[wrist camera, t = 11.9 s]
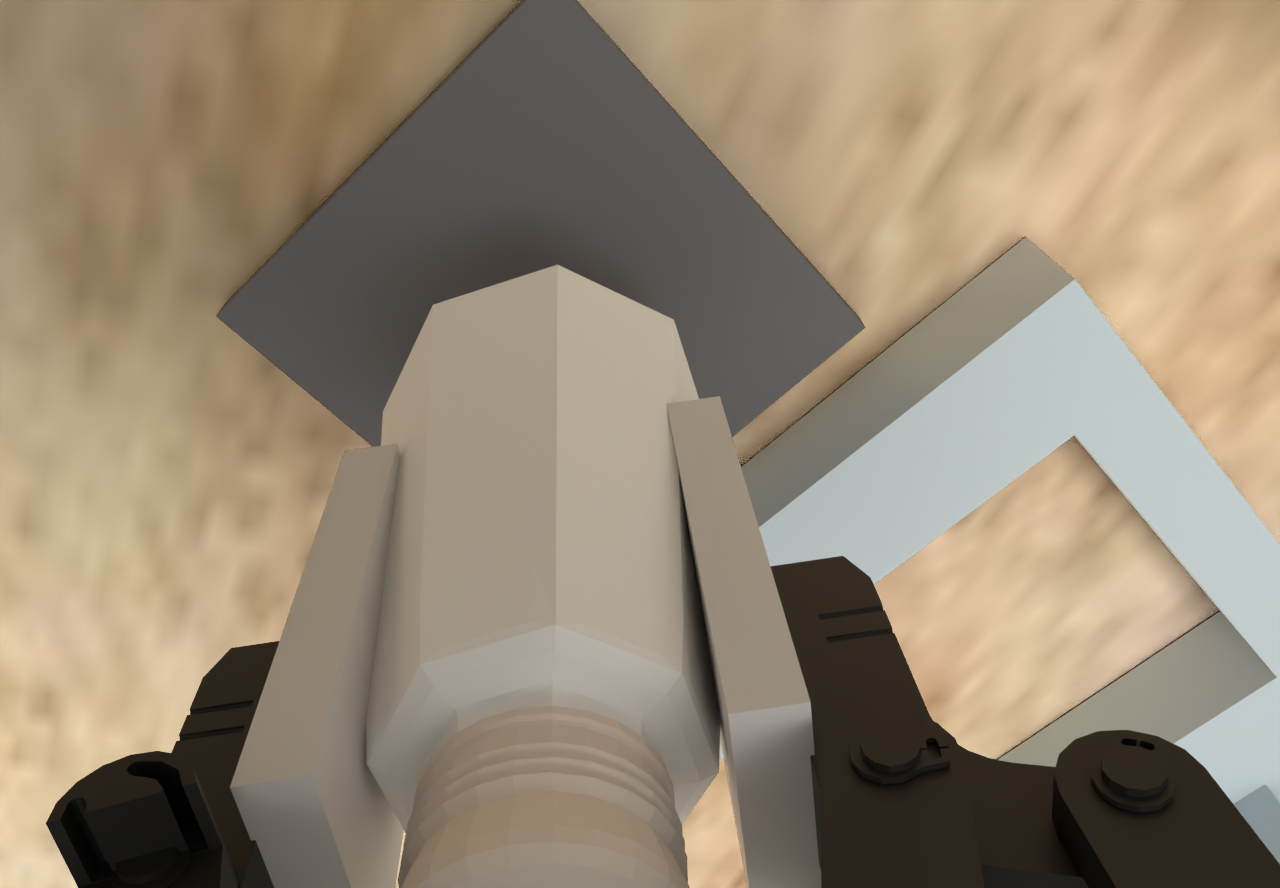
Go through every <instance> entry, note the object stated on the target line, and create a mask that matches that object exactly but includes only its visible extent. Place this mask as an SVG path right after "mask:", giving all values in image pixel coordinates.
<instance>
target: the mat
mask: <svg viewBox="0 0 1280 888" xmlns="http://www.w3.org/2000/svg"><path fill="white" fill-rule="evenodd" d="M555 265H559V266H562V267H564V268H566V269H568V270H570V271H572V272H574V273H576V274H579V275H581V276H583V277H585V278H587V279H589V280H591V281H593V282H595V283H598V284H600V285H602V286H604V287H606V288H608V289H610V290H612V291H614V292H617V293H619V294H621V295H623V296H625V297H627V298H629V299H631V300H633V301H636V302H638V303H640V304H642V305H644V306H646V307H648V308H650V309H653V310H655V311H657V312H659V313H661V314H663V315H665V316H667V317H669V318H672V319H674V322H675V325H676V328H677V331H678V334H679V337H680V341H681V344H682V347H683V350H684V353H685V356H686V359H687V363H688V366H689V369H690V372H691V375H692V378H693V381H694V384H695V388H696V391H697V394H698V397H699V399H703V398H710V397H717V396H720V398H721V402H722V405H723V409H724V412H725V415H726V419H727V422H728V425H729V429H730V432H731V435H732V437H733V436H734V435H735V434H736V433H737V432H739V431H740V430H741V429H742V428H743V427H745V426H746V425H747V424H748V423H750V422H751V421H752V420H753V419H754V418H756V417H757V416H758V415H759V414H761V413H762V412H763V411H764V410H765V409H767V408H768V407H769V406H770V405H772V404H773V403H774V402H775V401H776V400H778V399H779V398H780V397H781V396H782V395H784V394H785V393H786V392H787V391H789V390H790V389H791V388H792V387H793V386H795V385H796V384H797V383H798V382H800V381H801V380H802V379H803V378H804V377H806V376H807V375H808V374H809V373H811V372H812V371H813V370H814V369H815V368H817V367H818V366H819V365H820V364H821V363H823V362H824V361H825V360H826V359H828V358H829V357H830V356H831V355H832V354H834V353H835V352H836V351H837V350H839V349H840V348H841V347H842V346H843V345H845V344H846V343H847V342H848V341H850V340H851V339H852V338H853V337H854V336H856V335H857V334H858V333H859V332H860V331H862V330H863V329H864V328H865V326H864V324H863V323H862V321H861V320H860V318H859V317H858V315H857V314H856V313H855V312H854V311H853V310H852V309H851V308H850V306H849V305H848V304H847V303H846V302H845V301H844V300H843V299H842V297H841V296H840V295H839V294H838V293H837V292H836V291H835V290H834V288H833V287H832V286H831V285H830V284H829V283H828V282H827V281H826V279H825V278H824V277H823V276H822V275H821V274H820V273H819V272H818V271H817V269H816V268H815V267H814V266H813V265H812V264H811V263H810V262H809V260H808V259H807V258H806V257H805V256H804V255H803V254H802V253H801V251H800V250H799V249H798V248H797V247H796V246H795V245H794V244H793V242H792V241H791V240H790V239H789V238H788V237H787V236H786V235H785V233H784V232H783V231H782V230H781V229H780V228H779V227H778V226H777V225H776V223H775V222H774V221H773V220H772V219H771V218H770V217H769V216H768V214H767V213H766V212H765V211H764V210H763V209H762V208H761V207H760V205H759V204H758V203H757V202H756V201H755V200H754V199H753V198H752V196H751V195H750V194H749V193H748V192H747V191H746V190H745V189H744V187H743V186H742V185H741V184H740V183H739V182H738V181H737V180H736V179H735V177H734V176H733V175H732V174H731V173H730V172H729V171H728V170H727V168H726V167H725V166H724V165H723V164H722V163H721V162H720V161H719V159H718V158H717V157H716V156H715V155H714V154H713V153H712V152H711V150H710V149H709V148H708V147H707V146H706V145H705V144H704V143H703V142H702V140H701V139H700V138H699V137H698V136H697V135H696V134H695V133H694V131H693V130H692V129H691V128H690V127H689V126H688V125H687V124H686V122H685V121H684V120H683V119H682V118H681V117H680V116H679V115H678V113H677V112H676V111H675V110H674V109H673V108H672V107H671V106H670V104H669V103H668V102H667V101H666V100H665V99H664V98H663V97H662V96H661V94H660V93H659V92H658V91H657V90H656V89H655V88H654V87H653V85H652V84H651V83H650V82H649V81H648V80H647V79H646V78H645V76H644V75H643V74H642V73H641V72H640V71H639V70H638V69H637V67H636V66H635V65H634V64H633V63H632V62H631V61H630V60H629V58H628V57H627V56H626V55H625V54H624V53H623V52H622V51H621V50H620V48H619V47H618V46H617V45H616V44H615V43H614V42H613V41H612V39H611V38H610V37H609V36H608V35H607V34H606V33H605V32H604V30H603V29H602V28H601V27H600V26H599V25H598V24H597V23H596V21H595V20H594V19H593V18H592V17H591V16H590V15H589V14H588V12H587V11H586V10H585V9H584V8H583V7H582V6H581V5H580V4H579V2H578V1H577V0H523V1H522V2H521V3H520V4H519V5H518V6H517V7H516V8H515V9H514V10H513V11H512V12H511V13H510V14H509V15H508V16H507V17H506V18H505V19H504V20H503V21H502V22H501V23H500V24H499V25H498V26H497V27H496V28H495V29H494V30H493V31H492V32H491V33H490V34H489V35H488V36H487V37H486V38H485V40H484V41H483V42H482V43H481V44H480V45H479V46H478V47H477V48H476V49H475V50H474V51H473V52H472V53H471V54H470V55H469V56H468V57H467V58H466V59H465V60H464V61H463V62H462V63H461V64H460V65H459V66H458V67H457V68H456V69H455V70H454V71H453V72H452V73H451V74H450V75H449V76H448V77H447V78H446V79H445V80H444V81H443V82H442V83H441V84H440V85H439V86H438V87H437V88H436V89H435V90H434V91H433V92H432V94H431V95H430V96H429V97H428V98H427V99H426V100H425V101H424V102H423V103H422V104H421V105H420V106H419V107H418V108H417V109H416V110H415V111H414V112H413V113H412V114H411V115H410V116H409V117H408V118H407V119H406V120H405V121H404V122H403V123H402V124H401V125H400V126H399V127H398V128H397V129H396V130H395V131H394V132H393V133H392V134H391V135H390V136H389V137H388V138H387V139H386V140H385V141H384V142H383V143H382V144H381V145H380V147H379V148H378V149H377V150H376V151H375V152H374V153H373V154H372V155H371V156H370V157H369V158H368V159H367V160H366V161H365V162H364V163H363V164H362V165H361V166H360V167H359V168H358V169H357V170H356V171H355V172H354V173H353V174H352V175H351V176H350V177H349V178H348V179H347V180H346V181H345V182H344V183H343V184H342V185H341V186H340V187H339V188H338V189H337V190H336V191H335V192H334V193H333V194H332V195H331V196H330V197H329V198H328V200H327V201H326V202H325V203H324V204H323V205H322V206H321V207H320V208H319V209H318V210H317V211H316V212H315V213H314V214H313V215H312V216H311V217H310V218H309V219H308V220H307V221H306V222H305V223H304V224H303V225H302V226H301V227H300V228H299V229H298V230H297V231H296V232H295V233H294V234H293V235H292V236H291V237H290V238H289V239H288V240H287V241H286V242H285V243H284V244H283V245H282V246H281V247H280V248H279V249H278V250H277V251H276V252H275V254H274V255H273V256H272V257H271V258H270V259H269V260H268V261H267V262H266V263H265V264H264V265H263V266H262V267H261V268H260V269H259V270H258V271H257V272H256V273H255V274H254V275H253V276H252V277H251V278H250V279H249V280H248V281H247V282H246V283H245V284H244V285H243V286H242V287H241V288H240V289H239V290H238V291H237V292H236V293H235V294H234V295H233V296H232V297H231V298H230V299H229V300H228V301H227V302H226V303H225V304H224V306H223V307H222V309H221V310H220V311H219V313H218V314H217V316H216V317H218V318H219V319H220V320H221V321H222V322H224V323H225V324H226V325H227V326H228V327H230V328H231V329H232V330H233V331H234V332H236V333H237V334H238V335H239V336H240V337H242V338H243V339H244V340H245V341H246V342H248V343H249V344H250V345H251V346H252V347H254V348H255V349H256V350H257V351H258V352H260V353H261V354H262V355H263V356H264V357H266V358H267V359H268V360H269V361H271V362H272V363H273V364H274V365H275V366H277V367H278V368H279V369H280V370H281V371H283V372H284V373H285V374H286V375H287V376H289V377H290V378H291V379H292V380H293V381H295V382H296V383H297V384H298V385H299V386H301V387H302V388H303V389H304V390H305V391H307V392H308V393H309V394H310V395H311V396H313V397H314V398H315V399H316V400H317V401H319V402H320V403H321V404H322V405H323V406H325V407H326V408H327V409H328V410H330V411H331V412H332V413H333V414H334V415H336V416H337V417H338V418H339V419H340V420H342V421H343V422H344V423H345V424H346V425H348V426H349V427H350V428H351V429H352V430H354V431H355V432H356V433H357V434H358V435H360V436H361V437H362V438H363V439H364V440H366V441H367V442H368V443H369V444H370V445H372V446H373V447H376V446H381V435H382V418H383V410H384V408H385V406H386V404H387V402H388V399H389V397H390V395H391V393H392V391H393V389H394V387H395V385H396V382H397V380H398V378H399V376H400V374H401V372H402V370H403V368H404V365H405V363H406V361H407V359H408V357H409V355H410V353H411V350H412V348H413V346H414V344H415V342H416V340H417V338H418V336H419V333H420V331H421V329H422V327H423V325H424V323H425V321H426V318H427V316H428V314H429V312H430V310H431V308H432V306H433V305H434V304H437V303H440V302H443V301H446V300H449V299H452V298H455V297H459V296H462V295H465V294H468V293H471V292H474V291H477V290H480V289H483V288H486V287H490V286H493V285H496V284H499V283H502V282H505V281H508V280H511V279H514V278H517V277H521V276H524V275H527V274H530V273H533V272H536V271H539V270H542V269H545V268H548V267H552V266H555Z"/></svg>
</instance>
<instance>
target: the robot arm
mask: <svg viewBox="0 0 1280 888" xmlns="http://www.w3.org/2000/svg"><path fill="white" fill-rule="evenodd" d="M667 409H668V414H669V420H670V425H671V431H672V436H673V441H674V447H675V452H676V457H677V463H678V468H679V474H680V481H681V487H682V493H683V499H684V505H685V511H686V517H687V523H688V529H689V536H690V542H691V548H692V554H693V560H694V566H695V572H696V578H697V584H698V590H699V596H700V602H701V608H702V615H703V621H704V627H705V633H706V639H707V645H708V651H709V657H710V663H711V669H712V675H713V681H714V687H715V693H716V699H717V705H718V711H719V717H720V723H721V727H720V742H721V747H722V753H723V758H724V764H725V769H726V774H727V780H728V785H729V791H730V796H731V802H732V807H733V812H734V818H735V823H736V829H737V834H738V840H739V845H740V851H741V856H742V861H743V867H744V872H745V878H746V883H747V888H1280V864H1279V862H1278V861H1277V860H1276V859H1275V857H1274V856H1273V855H1272V853H1271V852H1270V851H1269V850H1268V848H1267V847H1266V846H1265V844H1264V843H1263V842H1262V841H1261V839H1260V838H1259V837H1258V835H1257V834H1256V833H1255V831H1254V830H1253V829H1252V828H1251V826H1250V825H1249V824H1248V822H1247V821H1246V820H1245V819H1244V817H1243V816H1242V815H1241V813H1240V812H1239V811H1238V809H1237V808H1236V807H1235V806H1234V804H1233V803H1232V802H1231V800H1230V799H1229V798H1228V797H1227V795H1226V794H1225V793H1224V791H1223V790H1222V789H1221V788H1220V786H1219V785H1218V784H1217V782H1216V781H1215V780H1214V778H1213V777H1212V776H1211V775H1210V773H1209V772H1208V771H1207V769H1206V768H1205V767H1204V766H1203V765H1202V764H1201V763H1199V762H1198V761H1197V760H1196V759H1195V758H1194V757H1193V756H1192V755H1191V754H1189V753H1188V752H1187V751H1186V750H1185V749H1183V748H1181V747H1179V746H1177V745H1175V744H1173V743H1171V742H1169V741H1167V740H1165V739H1163V738H1160V737H1158V736H1155V735H1150V734H1145V733H1141V732H1136V731H1131V730H1109V731H1097V732H1094V733H1091V734H1089V735H1086V736H1083V737H1080V738H1077V739H1075V740H1074V741H1072V742H1071V743H1070V744H1069V745H1068V746H1067V747H1066V748H1065V749H1064V750H1063V751H1062V752H1061V753H1060V754H1059V756H1058V760H1057V763H1056V767H1051V766H1041V765H1031V764H1021V763H1011V762H1006V761H1000V760H995V759H990V758H987V757H984V756H981V755H978V754H976V753H973V752H970V751H968V750H966V749H964V748H963V747H961V746H959V745H958V744H957V742H956V740H955V738H954V737H953V736H951V735H950V734H949V733H948V732H947V731H946V730H945V729H943V728H942V727H941V726H940V725H939V724H938V723H936V722H933V720H932V718H931V717H930V715H929V713H928V711H927V708H926V706H925V704H924V701H923V699H922V697H921V694H920V692H919V690H918V687H917V685H916V683H915V680H914V678H913V676H912V673H911V671H910V669H909V666H908V664H907V662H906V659H905V657H904V655H903V652H902V650H901V648H900V645H899V643H898V641H897V638H896V636H895V634H894V633H893V631H892V627H891V624H890V622H889V619H888V617H887V615H886V612H885V610H884V611H883V607H882V603H881V601H880V598H879V596H878V594H877V591H876V589H875V587H874V584H873V582H872V580H871V577H869V576H868V575H867V574H866V573H864V572H863V571H862V570H860V569H859V568H858V567H857V566H855V565H854V564H853V563H852V562H850V561H849V560H848V559H847V558H845V557H844V556H838V557H831V558H824V559H817V560H811V561H804V562H797V563H790V564H783V565H776V566H770V564H769V560H768V557H767V553H766V550H765V547H764V543H763V540H762V537H761V533H760V530H759V527H758V523H757V520H756V516H755V513H754V510H753V506H752V503H751V500H750V496H749V493H748V489H747V486H746V483H745V479H744V476H743V473H742V469H741V466H740V462H739V459H738V456H737V452H736V449H735V446H734V442H733V439H732V435H731V432H730V429H729V425H728V422H727V419H726V415H725V412H724V409H723V405H722V402H721V398H720V396H717V397H710V398H703V399H697V400H690V401H683V402H676V403H669V404H667ZM399 462H400V451H399V447H398V443H397V444H390V445H383V446H376V447H369V448H363V449H356V450H349V451H344V454H343V457H342V459H341V462H340V465H339V468H338V471H337V474H336V477H335V480H334V483H333V486H332V489H331V492H330V495H329V498H328V501H327V504H326V506H325V509H324V512H323V515H322V518H321V521H320V524H319V527H318V530H317V533H316V536H315V539H314V542H313V545H312V548H311V550H310V553H309V556H308V559H307V562H306V565H305V568H304V571H303V574H302V577H301V580H300V583H299V586H298V589H297V592H296V594H295V597H294V600H293V603H292V606H291V609H290V612H289V615H288V618H287V621H286V624H285V627H284V630H283V633H282V636H281V639H280V641H277V642H270V643H263V644H257V645H250V646H243V647H236V648H231V649H230V650H229V651H228V652H227V653H226V654H225V655H224V656H223V657H222V659H221V660H220V661H219V662H218V663H217V664H216V665H215V666H214V667H213V668H212V669H211V670H210V671H209V672H208V673H207V674H206V675H205V676H204V677H203V679H202V681H201V684H200V686H199V689H198V691H197V693H196V696H195V698H194V701H193V703H192V705H191V708H190V715H187V717H186V720H185V722H184V725H183V727H182V729H181V732H180V734H179V736H180V741H176V744H175V746H174V749H173V751H172V753H166V752H160V751H155V752H148V753H141V754H134V755H130V756H127V757H124V758H122V759H119V760H116V761H114V762H111V763H109V764H106V765H103V766H102V767H100V768H99V769H97V770H95V771H94V772H92V773H91V774H89V775H88V776H86V777H84V778H83V779H81V780H80V781H78V782H77V783H76V784H75V785H74V786H73V787H72V788H71V789H70V790H69V791H68V792H67V793H66V794H65V795H64V796H63V797H62V798H61V799H60V800H59V801H58V802H57V803H56V805H55V807H54V809H53V811H52V813H51V815H50V817H49V818H48V820H47V822H46V825H47V826H48V828H49V830H50V832H51V834H52V836H53V838H54V840H55V842H56V844H57V846H58V848H59V850H60V852H61V854H62V856H63V858H64V860H65V862H66V864H67V866H68V868H69V870H70V872H71V874H72V876H73V878H74V880H75V882H76V884H77V886H78V888H395V884H396V878H397V871H398V864H399V858H400V851H401V844H402V838H403V831H404V829H403V827H402V825H401V824H400V822H399V820H398V818H397V817H396V815H395V813H394V811H393V810H392V808H391V806H390V804H389V802H388V801H387V799H386V797H385V795H384V794H383V792H382V790H381V788H380V787H379V785H378V783H377V781H376V780H375V778H374V776H373V774H372V772H371V771H370V769H369V767H368V765H367V752H366V716H367V708H368V701H369V693H370V686H371V678H372V671H373V663H374V655H375V648H376V640H377V633H378V625H379V617H380V610H381V602H382V594H383V586H384V578H385V571H386V563H387V555H388V547H389V540H390V532H391V524H392V516H393V509H394V501H395V493H396V485H397V478H398V470H399Z"/></svg>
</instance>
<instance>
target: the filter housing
mask: <svg viewBox="0 0 1280 888" xmlns="http://www.w3.org/2000/svg"><path fill="white" fill-rule="evenodd" d="M1073 436H1074V437H1075V438H1076V439H1077V441H1078V442H1079V443H1080V444H1081V445H1082V446H1083V448H1084V449H1085V450H1086V451H1087V452H1088V454H1089V455H1090V456H1091V457H1092V458H1093V460H1094V461H1095V462H1096V463H1097V464H1098V466H1099V467H1100V468H1101V469H1102V470H1103V472H1104V473H1105V474H1106V475H1107V476H1108V478H1109V479H1110V480H1111V481H1112V482H1113V484H1114V485H1115V486H1116V487H1117V488H1118V490H1119V491H1120V492H1121V493H1122V494H1123V496H1124V497H1125V498H1126V499H1127V500H1128V502H1129V503H1130V504H1131V505H1132V506H1133V508H1134V509H1135V510H1136V511H1137V512H1138V514H1139V515H1140V516H1141V517H1142V518H1143V520H1144V521H1145V522H1146V523H1147V524H1148V526H1149V527H1150V528H1151V529H1152V530H1153V532H1154V533H1155V534H1156V535H1157V536H1158V537H1159V539H1160V540H1161V541H1162V542H1163V543H1164V545H1165V546H1166V547H1167V548H1168V549H1169V551H1170V552H1171V553H1172V554H1173V555H1174V557H1175V558H1176V559H1177V560H1178V561H1179V563H1180V564H1181V565H1182V566H1183V567H1184V569H1185V570H1186V571H1187V572H1188V573H1189V575H1190V576H1191V577H1192V578H1193V579H1194V581H1195V582H1196V583H1197V584H1198V585H1199V587H1200V588H1201V589H1202V590H1203V591H1204V593H1205V594H1206V595H1207V596H1208V597H1209V599H1210V600H1211V601H1212V602H1213V603H1214V605H1215V606H1216V607H1217V608H1218V609H1219V611H1220V612H1218V613H1217V614H1215V615H1214V616H1212V617H1211V618H1209V619H1208V620H1206V621H1205V622H1203V623H1202V624H1200V625H1199V626H1197V627H1196V628H1194V629H1193V630H1191V631H1190V632H1188V633H1187V634H1185V635H1184V636H1182V637H1181V638H1179V639H1178V640H1176V641H1175V642H1173V643H1172V644H1170V645H1169V646H1167V647H1166V648H1164V649H1163V650H1161V651H1160V652H1158V653H1157V654H1155V655H1154V656H1152V657H1151V658H1149V659H1148V660H1146V661H1145V662H1143V663H1142V664H1140V665H1139V666H1137V667H1136V668H1134V669H1133V670H1131V671H1130V672H1128V673H1127V674H1125V675H1124V676H1122V677H1121V678H1119V679H1118V680H1116V681H1115V682H1113V683H1112V684H1110V685H1109V686H1107V687H1106V688H1104V689H1103V690H1101V691H1100V692H1098V693H1097V694H1095V695H1094V696H1092V697H1091V698H1089V699H1088V700H1086V701H1085V702H1083V703H1082V704H1080V705H1079V706H1077V707H1076V708H1074V709H1073V710H1071V711H1070V712H1068V713H1067V714H1065V715H1064V716H1062V717H1061V718H1059V719H1058V720H1056V721H1055V722H1053V723H1052V724H1050V725H1049V726H1047V727H1046V728H1044V729H1043V730H1041V731H1040V732H1038V733H1037V734H1035V735H1034V736H1032V737H1031V738H1029V739H1028V740H1026V741H1025V742H1023V743H1022V744H1020V745H1019V746H1017V747H1016V748H1014V749H1013V750H1011V751H1010V752H1008V753H1007V754H1005V755H1004V756H1002V757H1001V758H999V759H998V760H1000V761H1006V762H1011V763H1021V764H1031V765H1041V766H1051V767H1056V763H1057V760H1058V756H1059V754H1060V753H1061V752H1062V751H1063V750H1064V749H1065V748H1066V747H1067V746H1068V745H1069V744H1070V743H1071V742H1072V741H1074V740H1075V739H1077V738H1080V737H1083V736H1086V735H1089V734H1091V733H1094V732H1097V731H1109V730H1131V731H1136V732H1141V733H1145V734H1150V735H1155V736H1158V737H1160V738H1163V739H1165V740H1167V741H1169V742H1171V743H1173V744H1175V745H1177V746H1179V747H1181V748H1183V749H1185V750H1186V751H1187V752H1188V753H1189V754H1191V755H1192V756H1193V757H1194V758H1195V759H1196V760H1197V761H1198V762H1199V763H1201V764H1202V765H1203V766H1204V767H1205V768H1206V769H1207V771H1208V772H1209V773H1210V775H1211V776H1212V777H1213V778H1214V780H1215V781H1216V782H1217V784H1218V785H1219V786H1220V788H1221V789H1222V790H1223V791H1224V793H1225V794H1226V795H1227V797H1228V798H1229V799H1230V800H1231V802H1232V803H1233V804H1234V806H1235V807H1236V808H1237V809H1238V811H1239V812H1240V813H1241V815H1242V816H1243V817H1244V819H1245V820H1246V821H1247V822H1248V824H1249V825H1250V826H1251V828H1252V829H1253V830H1254V831H1255V833H1256V834H1257V835H1258V837H1259V838H1260V839H1261V841H1262V842H1263V843H1264V844H1265V846H1266V847H1267V848H1268V850H1269V851H1270V852H1271V853H1272V855H1273V856H1274V857H1275V859H1276V860H1277V861H1278V862H1279V864H1280V544H1279V543H1278V541H1277V540H1276V539H1275V538H1274V536H1273V535H1272V534H1271V532H1270V531H1269V530H1268V528H1267V527H1266V526H1265V525H1264V523H1263V522H1262V521H1261V519H1260V518H1259V517H1258V515H1257V514H1256V513H1255V512H1254V510H1253V509H1252V508H1251V506H1250V505H1249V504H1248V503H1247V501H1246V500H1245V499H1244V497H1243V496H1242V495H1241V493H1240V492H1239V491H1238V490H1237V488H1236V487H1235V486H1234V484H1233V483H1232V482H1231V481H1230V479H1229V478H1228V477H1227V475H1226V474H1225V473H1224V471H1223V470H1222V469H1221V468H1220V466H1219V465H1218V464H1217V462H1216V461H1215V460H1214V458H1213V457H1212V456H1211V455H1210V453H1209V452H1208V451H1207V449H1206V448H1205V447H1204V446H1203V444H1202V443H1201V442H1200V440H1199V439H1198V438H1197V436H1196V435H1195V434H1194V433H1193V431H1192V430H1191V429H1190V427H1189V426H1188V425H1187V423H1186V422H1185V421H1184V420H1183V418H1182V417H1181V416H1180V414H1179V413H1178V412H1177V411H1176V409H1175V408H1174V407H1173V405H1172V404H1171V403H1170V401H1169V400H1168V399H1167V398H1166V396H1165V395H1164V394H1163V392H1162V391H1161V390H1160V389H1159V387H1158V386H1157V385H1156V383H1155V382H1154V381H1153V379H1152V378H1151V377H1150V376H1149V374H1148V373H1147V372H1146V370H1145V369H1144V368H1143V366H1142V365H1141V364H1140V363H1139V361H1138V360H1137V359H1136V357H1135V356H1134V355H1133V354H1132V352H1131V351H1130V350H1129V348H1128V347H1127V346H1126V344H1125V343H1124V342H1123V341H1122V339H1121V338H1120V337H1119V335H1118V334H1117V333H1116V332H1115V330H1114V329H1113V328H1112V326H1111V325H1110V324H1109V322H1108V321H1107V320H1106V319H1105V317H1104V316H1103V315H1102V313H1101V312H1100V311H1099V309H1098V308H1097V307H1096V306H1095V304H1094V303H1093V302H1092V300H1091V299H1090V298H1089V297H1088V295H1087V294H1086V293H1085V291H1084V290H1083V289H1082V287H1081V286H1080V285H1079V284H1078V282H1077V281H1076V280H1075V279H1074V278H1073V277H1072V276H1071V275H1070V274H1069V273H1067V272H1066V271H1065V270H1064V269H1063V268H1062V267H1060V266H1059V265H1058V264H1057V263H1056V262H1054V261H1053V260H1052V259H1051V258H1050V257H1049V256H1047V255H1046V254H1045V253H1044V252H1043V251H1042V250H1040V249H1039V248H1038V247H1037V246H1036V245H1035V244H1033V243H1032V242H1031V241H1030V240H1029V239H1028V238H1026V237H1025V238H1024V239H1022V240H1021V241H1020V242H1019V243H1017V244H1016V245H1015V246H1014V247H1012V248H1011V249H1010V250H1009V251H1008V252H1006V253H1005V254H1004V255H1003V256H1001V257H1000V258H999V259H998V260H996V261H995V262H994V263H993V264H991V265H990V266H989V267H988V268H987V269H985V270H984V271H983V272H982V273H980V274H979V275H978V276H977V277H975V278H974V279H973V280H972V281H970V282H969V283H968V284H967V285H966V286H964V287H963V288H962V289H961V290H959V291H958V292H957V293H956V294H954V295H953V296H952V297H951V298H949V299H948V300H947V301H946V302H944V303H943V304H942V305H941V306H940V307H938V308H937V309H936V310H935V311H933V312H932V313H931V314H930V315H928V316H927V317H926V318H925V319H923V320H922V321H921V322H920V323H919V324H917V325H916V326H915V327H914V328H912V329H911V330H910V331H909V332H907V333H906V334H905V335H904V336H902V337H901V338H900V339H899V340H898V341H896V342H895V343H894V344H893V345H891V346H890V347H889V348H888V349H886V350H885V351H884V352H883V353H881V354H880V355H879V356H878V357H877V358H875V359H874V360H873V361H872V362H870V363H869V364H868V365H867V366H865V367H864V368H863V369H862V370H860V371H859V372H858V373H857V374H855V375H854V376H853V377H852V378H851V379H849V380H848V381H847V382H846V383H844V384H843V385H842V386H841V387H839V388H838V389H837V390H836V391H834V392H833V393H832V394H831V395H830V396H828V397H827V398H826V399H825V400H823V401H822V402H821V403H820V404H818V405H817V406H816V407H815V408H813V409H812V410H811V411H810V412H809V413H807V414H806V415H805V416H804V417H802V418H801V419H800V420H799V421H797V422H796V423H795V424H794V425H792V426H791V427H790V428H789V429H788V430H786V431H785V432H784V433H783V434H781V435H780V436H779V437H778V438H776V439H775V440H774V441H773V442H771V443H770V444H769V445H768V446H767V447H765V448H764V449H763V450H762V451H760V452H759V453H758V454H757V455H755V456H754V457H753V458H752V459H750V460H749V461H748V462H747V463H745V464H744V465H743V466H742V467H741V469H742V473H743V476H744V479H745V483H746V486H747V489H748V493H749V496H750V500H751V503H752V506H753V510H754V513H755V516H756V520H757V523H758V527H759V530H760V533H761V537H762V540H763V543H764V547H765V550H766V553H767V557H768V560H769V564H770V566H776V565H783V564H790V563H797V562H804V561H811V560H817V559H824V558H831V557H838V556H844V557H845V558H847V559H848V560H849V561H850V562H852V563H853V564H854V565H855V566H857V567H858V568H859V569H860V570H862V571H863V572H864V573H866V574H867V575H868V576H869V577H871V580H872V582H873V584H875V583H876V582H878V581H879V580H880V579H882V578H883V577H884V576H886V575H887V574H888V573H890V572H891V571H892V570H894V569H895V568H896V567H898V566H899V565H900V564H902V563H903V562H904V561H906V560H907V559H908V558H910V557H911V556H913V555H914V554H915V553H917V552H918V551H919V550H921V549H922V548H923V547H925V546H926V545H927V544H929V543H930V542H931V541H933V540H934V539H935V538H937V537H938V536H939V535H941V534H942V533H943V532H945V531H946V530H948V529H949V528H950V527H952V526H953V525H954V524H956V523H957V522H958V521H960V520H961V519H962V518H964V517H965V516H966V515H968V514H969V513H970V512H972V511H973V510H974V509H976V508H977V507H978V506H980V505H981V504H982V503H984V502H985V501H987V500H988V499H989V498H991V497H992V496H993V495H995V494H996V493H997V492H999V491H1000V490H1001V489H1003V488H1004V487H1005V486H1007V485H1008V484H1009V483H1011V482H1012V481H1013V480H1015V479H1016V478H1017V477H1019V476H1020V475H1022V474H1023V473H1024V472H1026V471H1027V470H1028V469H1030V468H1031V467H1032V466H1034V465H1035V464H1036V463H1038V462H1039V461H1040V460H1042V459H1043V458H1044V457H1046V456H1047V455H1048V454H1050V453H1051V452H1052V451H1054V450H1055V449H1056V448H1058V447H1059V446H1061V445H1062V444H1063V443H1065V442H1066V441H1067V440H1069V439H1070V438H1071V437H1073ZM719 757H720V758H721V759H722V760H724V758H723V753H722V747H721V742H720V754H719Z"/></svg>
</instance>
